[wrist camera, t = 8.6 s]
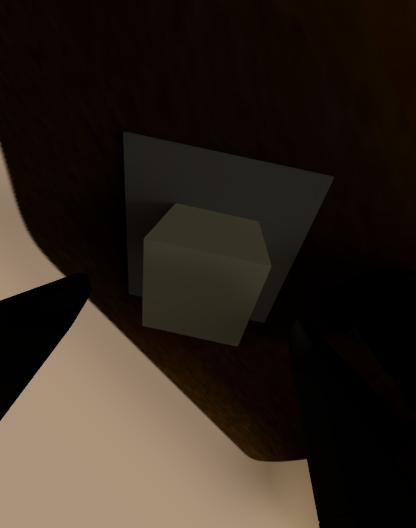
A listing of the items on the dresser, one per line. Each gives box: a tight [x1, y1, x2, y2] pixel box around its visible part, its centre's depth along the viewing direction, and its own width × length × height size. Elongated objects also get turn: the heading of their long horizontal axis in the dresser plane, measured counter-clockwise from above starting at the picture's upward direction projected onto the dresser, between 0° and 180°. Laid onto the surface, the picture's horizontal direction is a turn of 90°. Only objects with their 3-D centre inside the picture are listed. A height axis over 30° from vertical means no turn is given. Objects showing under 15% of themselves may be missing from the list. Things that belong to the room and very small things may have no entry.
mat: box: [123, 132, 334, 323], centre depth 14 cm, size 11×11×1 cm
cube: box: [142, 203, 271, 346], centre depth 11 cm, size 5×5×5 cm
